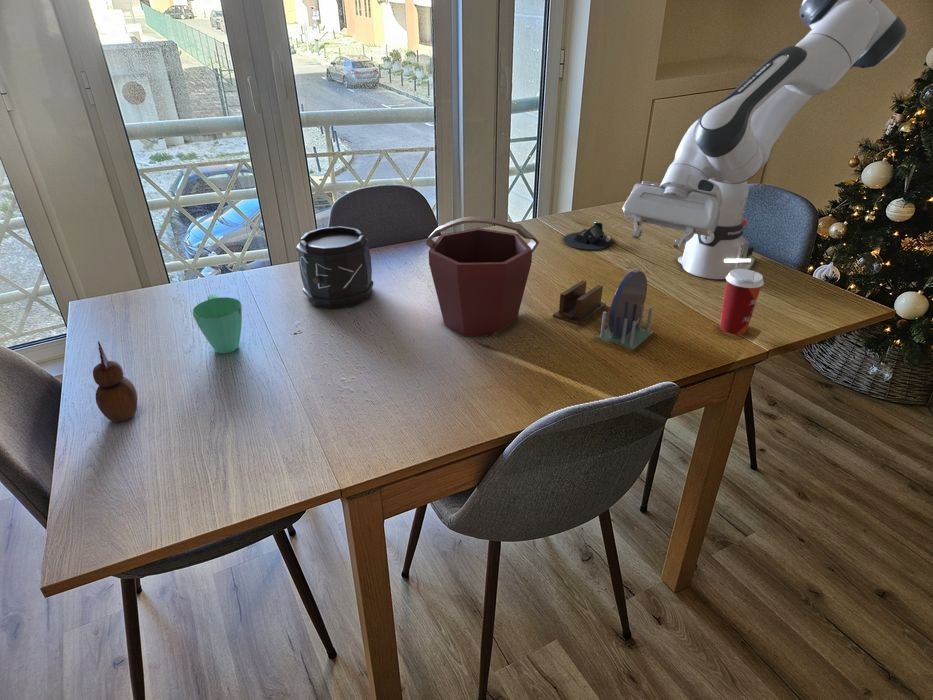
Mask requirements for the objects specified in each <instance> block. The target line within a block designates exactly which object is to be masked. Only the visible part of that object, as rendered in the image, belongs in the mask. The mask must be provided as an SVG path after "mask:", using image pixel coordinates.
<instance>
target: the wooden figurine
mask: <svg viewBox="0 0 933 700" xmlns="http://www.w3.org/2000/svg"><path fill="white" fill-rule="evenodd" d="M97 346H98V351H99V359H100V362H99V363H98V364H96V365H95V366H94V367H93V369H92V377H93V380H94V382H95V384H97V385H98V386H97V388H96V390H95V402H96V405H97V408H98V409H99V412H101V414H102V415H103V416H104V417H105V418H106V419H108V420H109V421H110V422H114V423H121V422H125V421H127V420H129V419H131V418H132V417H133V416H134V415H135V414H136V412H137V410H138V391H137V388H136V386H135V384H134V383H133V382H132V381H131V380H130V379H129V378H127V377H125V376H124V375H125V374H124V370H123V368H122V367H123V366H121V364H120V363H119V362H118V361H116V360H108V357H107V355H106V354H105V351H104V349H103V347H102V345H101V342H100V340H98V341H97Z"/></svg>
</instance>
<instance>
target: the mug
mask: <svg viewBox="0 0 933 700" xmlns="http://www.w3.org/2000/svg"><path fill="white" fill-rule="evenodd" d="M242 308H243V307H242V302H241V301H240V300H239V299H237V298H234V297H220V296H219V294H217V293H213V294H212V293H211V294H210V295H208V296H207V300H204V301H202V302H200V303H198V304H196V305H195V306H194V308H192V316H193V318H194V320H195V322H196V325H197V327H198V328H199V329H200V331H201V333H202V335H203V336H204V338H205V339H206V340H207V342H208V344H209V345H210V346H211V347H212V348H213V350H214V351H215V352H216V353H218V354H229V353H232V352H234V351H235V352H236V350H237V349H238V348H239V345H240V340H241V335H242V325H243V324H242V323H243V322H242V321H243V320H242V319H243V309H242Z"/></svg>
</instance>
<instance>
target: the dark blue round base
mask: <svg viewBox="0 0 933 700" xmlns="http://www.w3.org/2000/svg"><path fill="white" fill-rule="evenodd" d="M603 228H604V226H603V223H602V222H598V221H595V222H594V224H593V226H591V227H590V228H588V229H586V228H584V229H583V230H581V231H577V232H573V233H570V234H569V233H568V234H567V235H565V236H564V237H563V243H564V244H565V245H566V246H567V247H570V248H572V249H575V250H581V251H602V250H606V249H609V248H611V247H612V246H613V244H614V241H613V239H612V238H611V237H610V236H609V235H608V234H607V235H606V234H605V232H604V229H603Z"/></svg>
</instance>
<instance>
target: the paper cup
mask: <svg viewBox="0 0 933 700" xmlns="http://www.w3.org/2000/svg"><path fill="white" fill-rule="evenodd" d="M725 280H726V283H725V290H724V296H723V302H722V308H721V313H720V314H721V315H720V322H719V328H720V329H721V330H722V331H724V332H726V333H728V334H731V335H742V334H745V333H747V331H748V329H749V328H748V327H749V325H750V322H751V319H752V315H753V312H754V310H755V307H756V304H757V301H758V298H759V294H760V291H761V288H762V287H763V286H764V284H765V282H764V277H763V275H762V274H761V273H760V272H758V271H755V270H751V269H749V270H747V269H735V270H731V271H730V272H729V274H728V275H727V276H726V279H725Z"/></svg>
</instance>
